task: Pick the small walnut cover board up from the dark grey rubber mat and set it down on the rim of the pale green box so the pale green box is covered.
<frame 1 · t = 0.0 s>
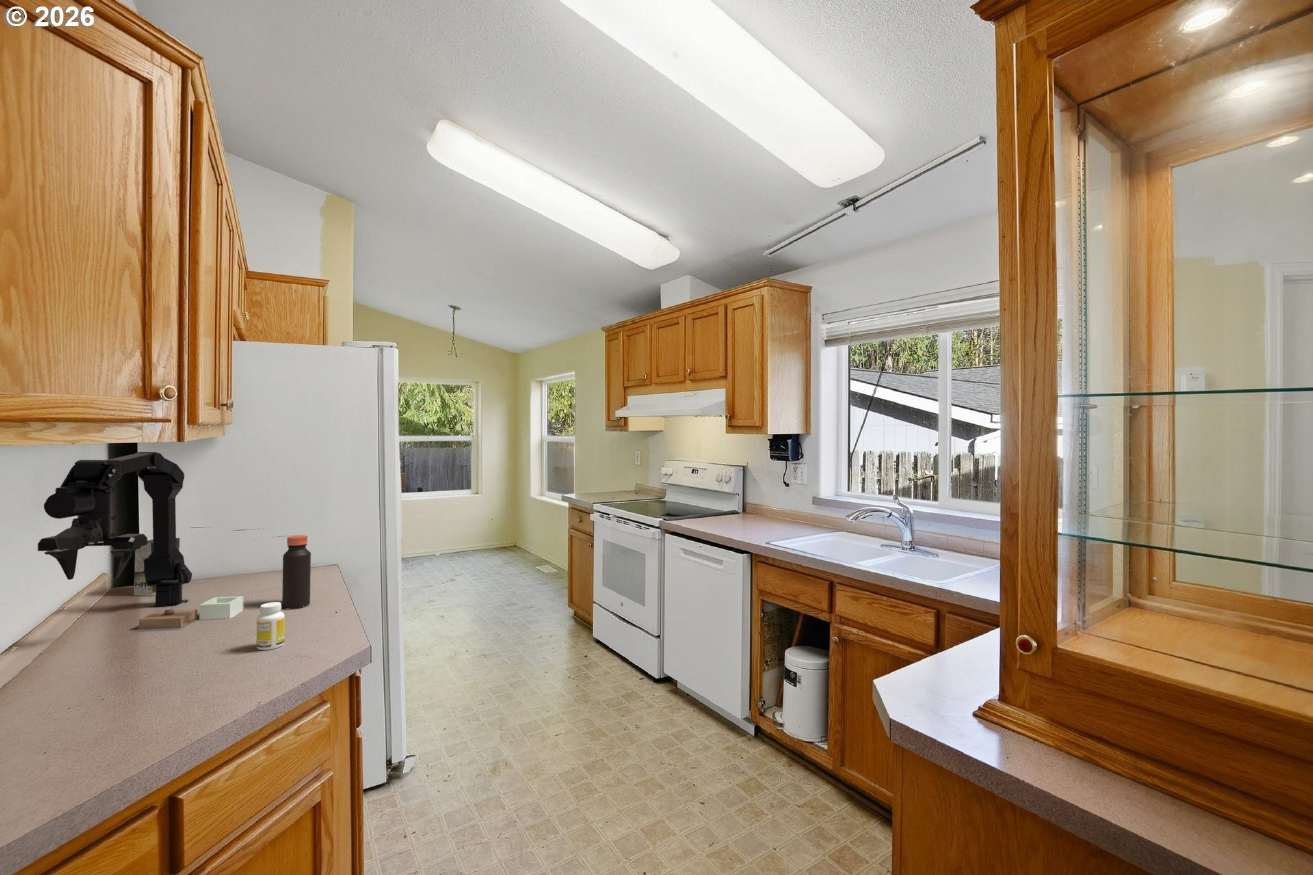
hand: (93, 578, 134), 15 cm above the worktop, tool pointing down, fingers open, 9 cm apart
pale green box: (221, 617, 152), on the worktop
coffee box: (157, 592, 174), on the worktop
mat: (168, 626, 144), on the worktop
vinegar: (296, 606, 163), on the worktop
supplement bottle: (270, 647, 132), on the worktop
cover: (168, 624, 144), point 1 cm above the worktop, touching mat
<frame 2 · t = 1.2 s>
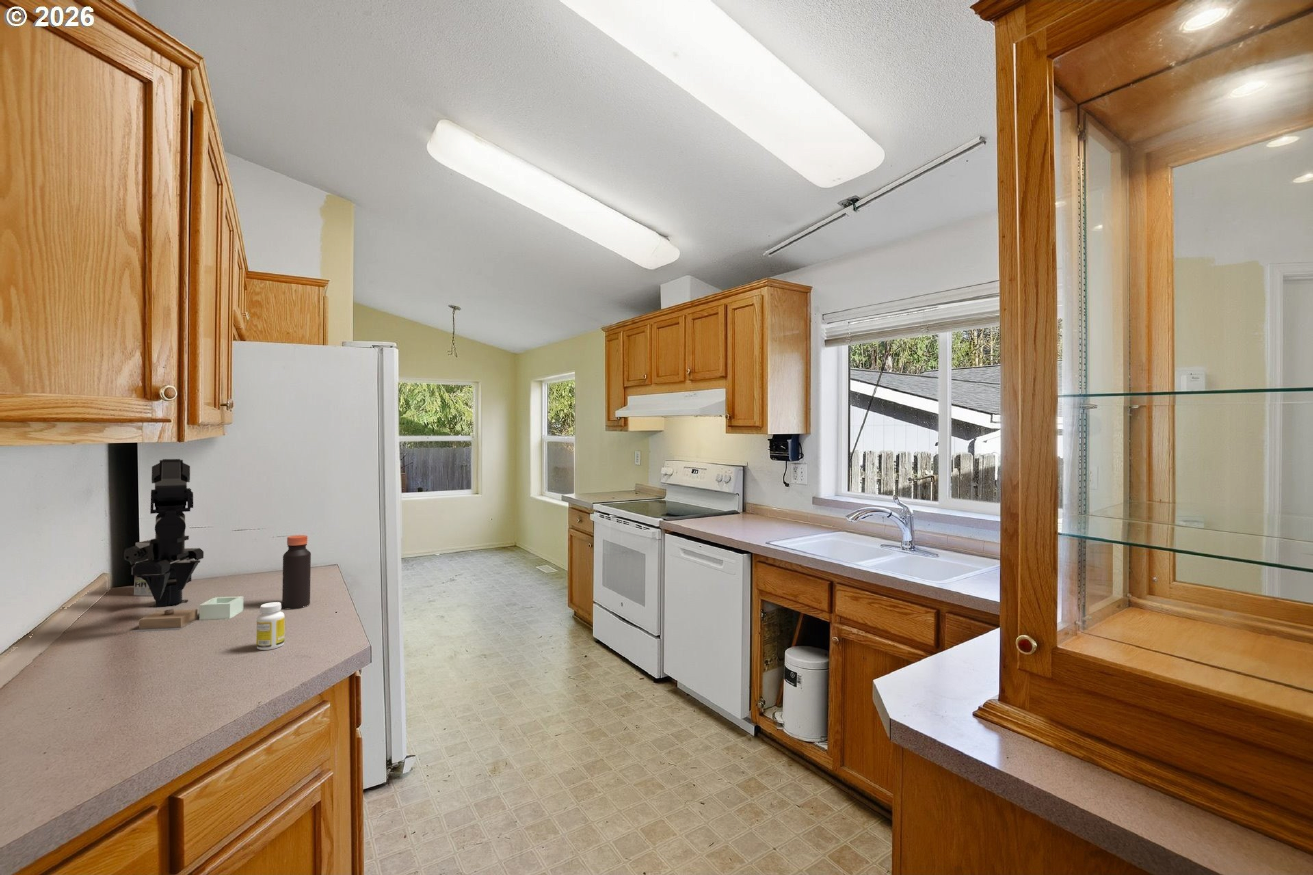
hand: (169, 594, 144), 8 cm above the worktop, tool pointing down, fingers open, 9 cm apart
nothing on the worktop moved.
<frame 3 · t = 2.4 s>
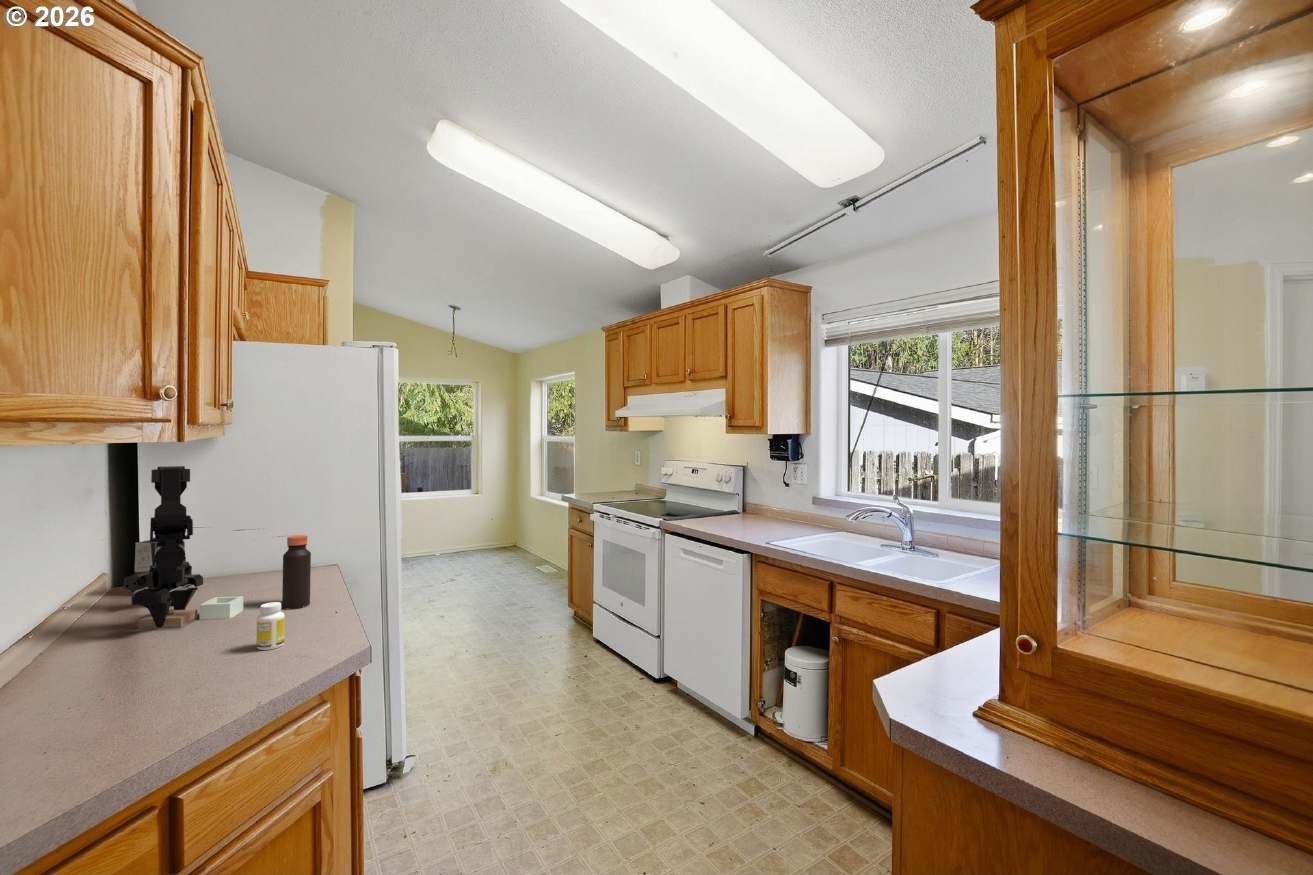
hand: (168, 622, 144), 1 cm above the worktop, tool pointing down, fingers closed on cover, 7 cm apart
cover: (168, 624, 144), point 1 cm above the worktop, touching gripper, mat
everything else where it was.
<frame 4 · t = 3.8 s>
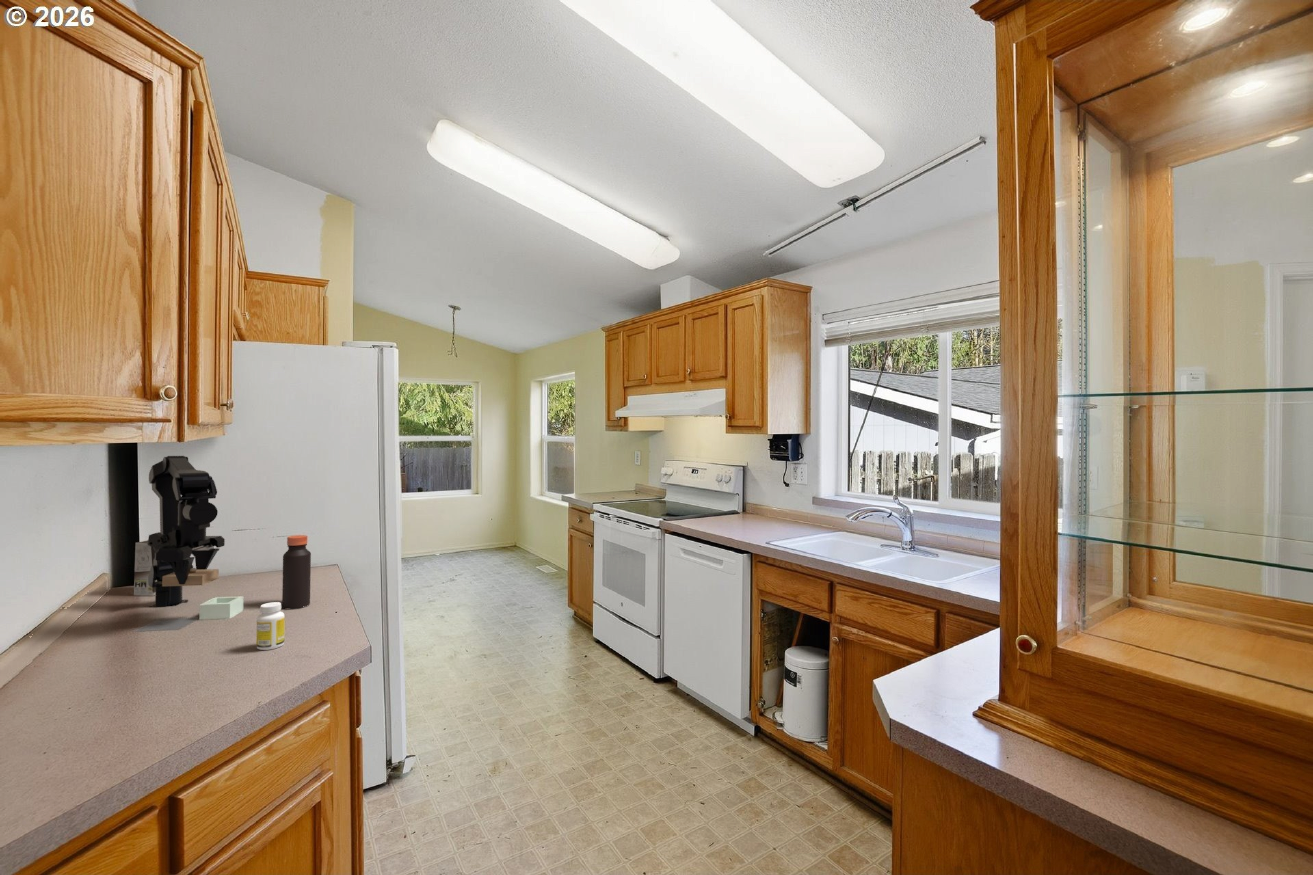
hand: (191, 580, 147), 11 cm above the worktop, tool pointing down, fingers closed on cover, 7 cm apart
cover: (191, 582, 147), point 11 cm above the worktop, touching gripper
everything else where it was.
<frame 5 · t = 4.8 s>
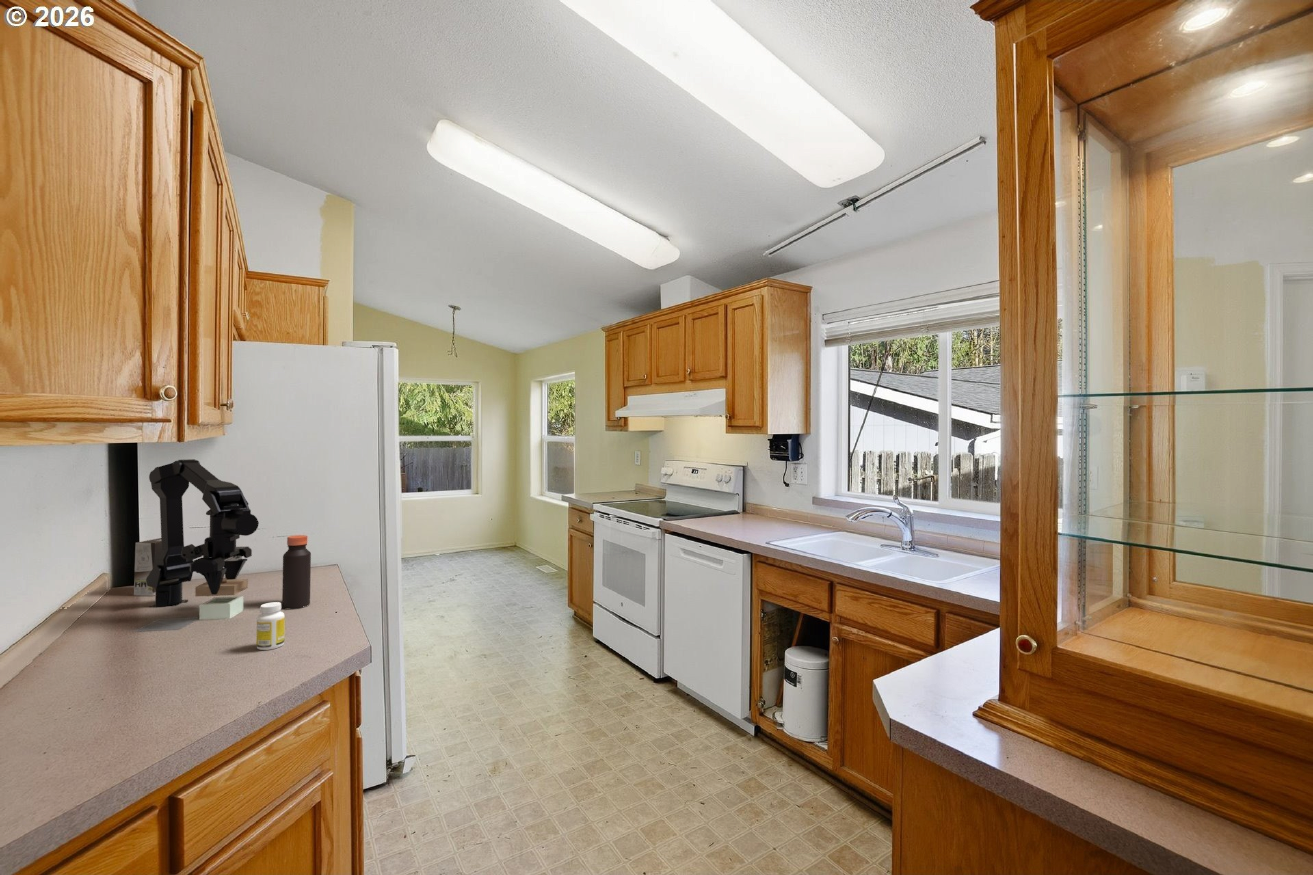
hand: (222, 590, 152), 7 cm above the worktop, tool pointing down, fingers closed on cover, 7 cm apart
cover: (222, 592, 152), point 7 cm above the worktop, touching gripper
everything else where it was.
when the fingers open (6 cm above the worktop, at t = 5.5 s): cover drops 1 cm, resting on pale green box.
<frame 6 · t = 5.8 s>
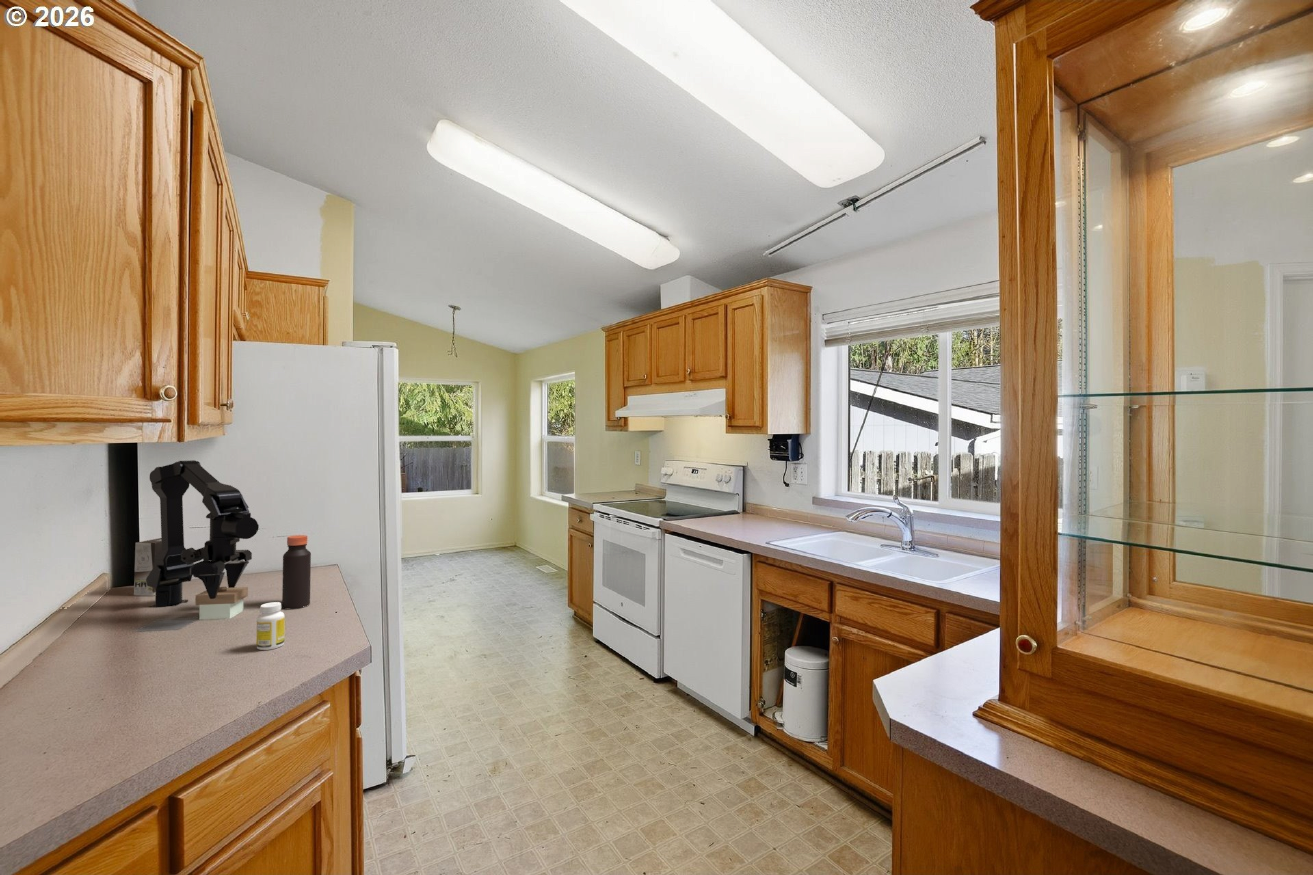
hand: (222, 593, 152), 6 cm above the worktop, tool pointing down, fingers open, 9 cm apart
cover: (222, 600, 152), point 4 cm above the worktop, touching pale green box
everything else where it was.
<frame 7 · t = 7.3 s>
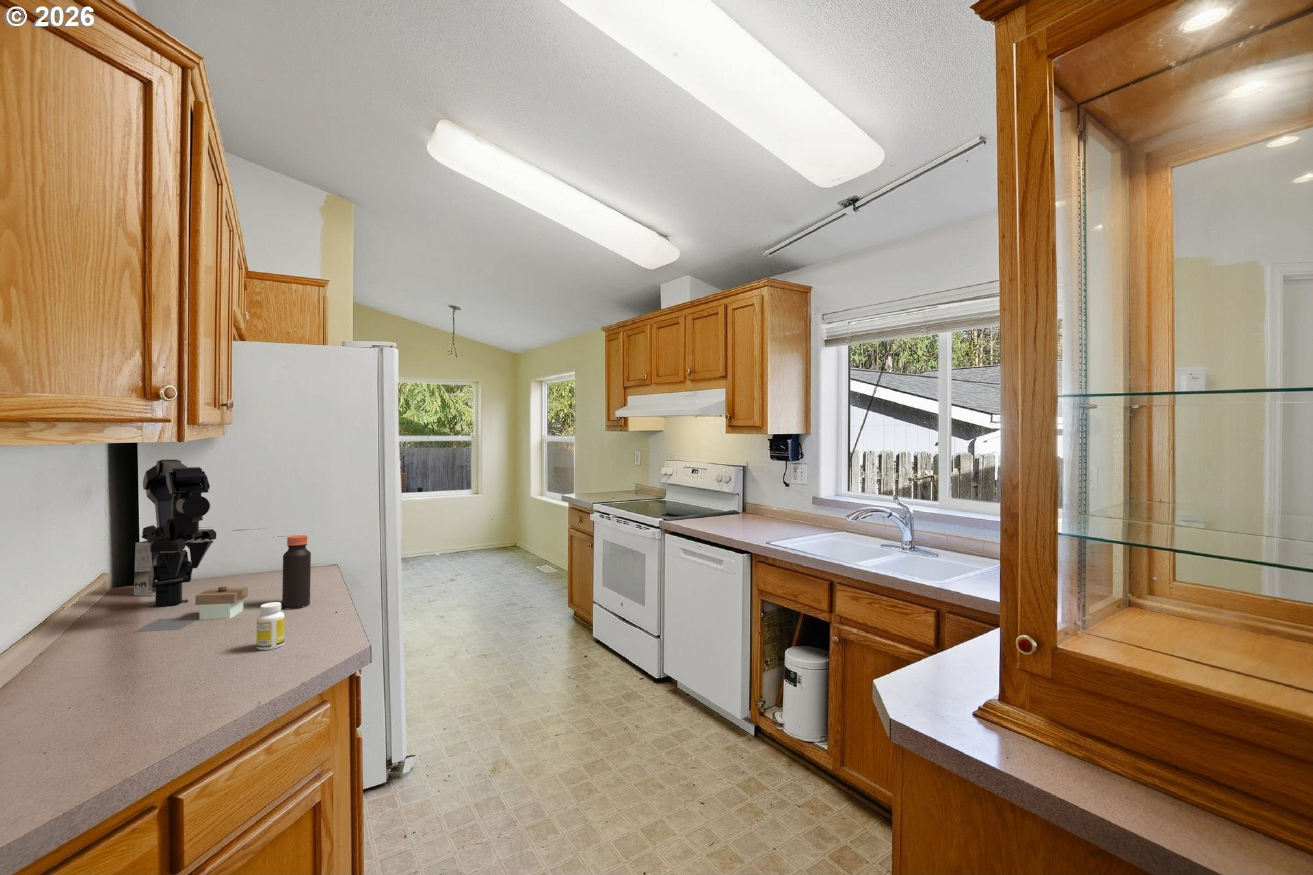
hand: (184, 572, 152), 12 cm above the worktop, tool pointing down, fingers open, 9 cm apart
nothing on the worktop moved.
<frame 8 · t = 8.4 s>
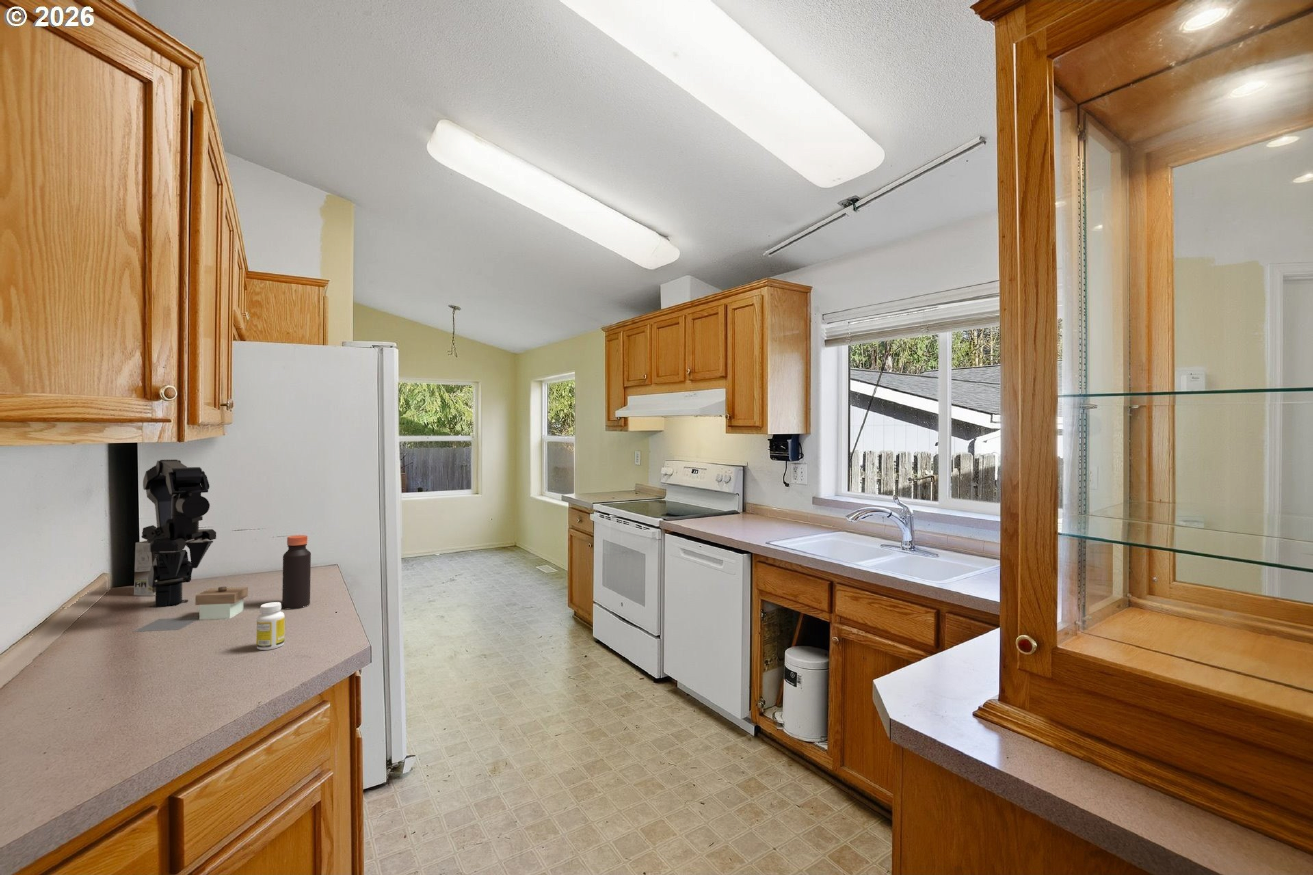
hand: (184, 572, 152), 12 cm above the worktop, tool pointing down, fingers open, 9 cm apart
nothing on the worktop moved.
at the end: cover 0.0 cm off-centre on the pale green box, point 4.5 cm above the pale green box's base; cover tilted 0°; the gripper is holding nothing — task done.
